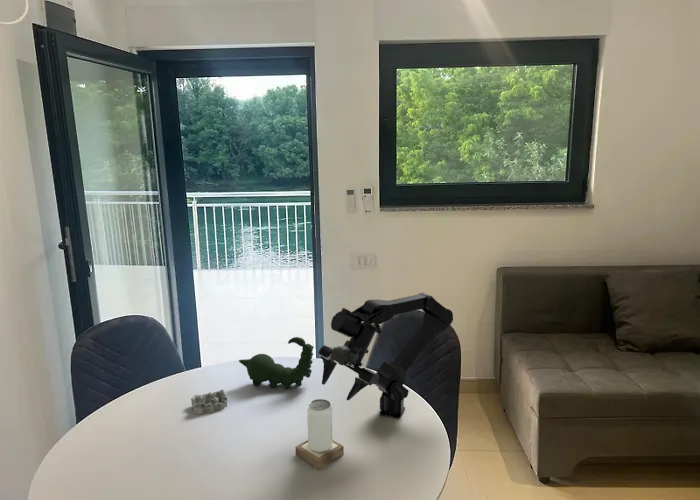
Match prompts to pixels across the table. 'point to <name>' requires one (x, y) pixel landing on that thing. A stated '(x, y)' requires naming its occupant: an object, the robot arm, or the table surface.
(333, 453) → the block
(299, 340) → the toy figurine
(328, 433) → the can
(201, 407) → the egg carton
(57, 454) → the table surface
